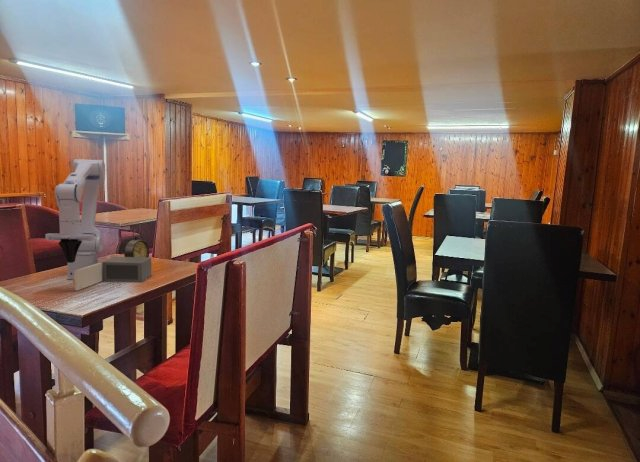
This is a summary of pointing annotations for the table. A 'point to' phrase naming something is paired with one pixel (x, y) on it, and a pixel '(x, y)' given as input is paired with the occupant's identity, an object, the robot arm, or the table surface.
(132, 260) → the housing
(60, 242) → the robot arm
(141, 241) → the alarm clock
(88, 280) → the door
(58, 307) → the table surface
